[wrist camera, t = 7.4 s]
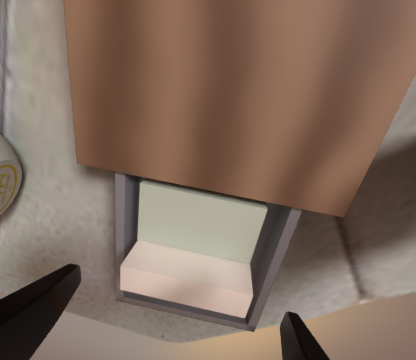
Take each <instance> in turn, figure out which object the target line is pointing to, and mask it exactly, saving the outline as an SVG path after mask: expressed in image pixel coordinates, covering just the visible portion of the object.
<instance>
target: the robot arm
mask: <svg viewBox="0 0 416 360" xmlns="http://www.w3.org/2000/svg"><path fill="white" fill-rule="evenodd" d="M80 282H81V271H80V266H79V265H76V264H68V265H66V266H64V267H62V268H60V269H58V270H56V271H54V272H52V273H50V274H48V275H46V276H44V277H42V278H41V279H39V280H37V281H35V282H33V283H31V284H29V285H27V286H25V287H23V288H21V289H19V290H18V291H16V292H14V293H12V294H10V295H8V296H6V297H4V298H2V299H0V360H29V359H30V358H31V357H32V355H33V354H34V352H35V351H36V350H37V348H38V347H39V345H40V344H41V343H42V341H43V340H44V339H45V337H46V336H47V334H48V333H49V332H50V330H51V329H52V328H53V326H54V325H55V323H56V322H57V321H58V319H59V317H60V316H61V314H62V313H63V311H64V309H65V308H66V306H67V304H68V303H69V301H70V299H71V298H72V296H73V294H74V293H75V291H76V289H77V288H78V286H79V284H80ZM280 333H281V334H280V335H281V346H282V358H283V360H330V359H329V358H328V356H327V355H326V353H325V352H324V350H323V349H322V348H321V346H320V345H319V343H318V342H317V341H316V339H315V338H314V336H313V335H312V334H311V332H310V331H309V329H308V328H307V327H306V325H305V324H304V322H303V321H302V320H301V318H300V317H299V315H298V314H296V313H293V312H289V311H287V312H286V313H285V315H284V318H283V320H282V322H281V325H280Z"/></svg>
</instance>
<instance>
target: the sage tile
mask: <svg viewBox="0 0 416 360" xmlns="http://www.w3.org/2000/svg"><path fill="white" fill-rule="evenodd" d="M267 210H268V209H267V206H266V203H265V202H264V201H259V200H254V199H249V198H244V197H239V196H234V195H229V194H224V193H219V192H215V191H210V190H205V189H200V188H195V187H190V186H185V185H180V184H175V183H170V182H165V181H160V180H155V179H150V178H145V179H144V180H143V181H142V182H140V193H139V214H138V235H137V240H142V241H146V242H151V243H156V244H160V245H165V246H169V247H174V248H178V249H183V250H188V251H192V252H197V253H201V254H206V255H210V256H215V257H220V258H224V259H229V260H233V261H238V262H242V263H247V264H250V262H251V258H252V255H253V252H254V249H255V246H256V243H257V240H258V237H259V234H260V231H261V228H262V225H263V222H264V219H265V216H266V213H267Z"/></svg>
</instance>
